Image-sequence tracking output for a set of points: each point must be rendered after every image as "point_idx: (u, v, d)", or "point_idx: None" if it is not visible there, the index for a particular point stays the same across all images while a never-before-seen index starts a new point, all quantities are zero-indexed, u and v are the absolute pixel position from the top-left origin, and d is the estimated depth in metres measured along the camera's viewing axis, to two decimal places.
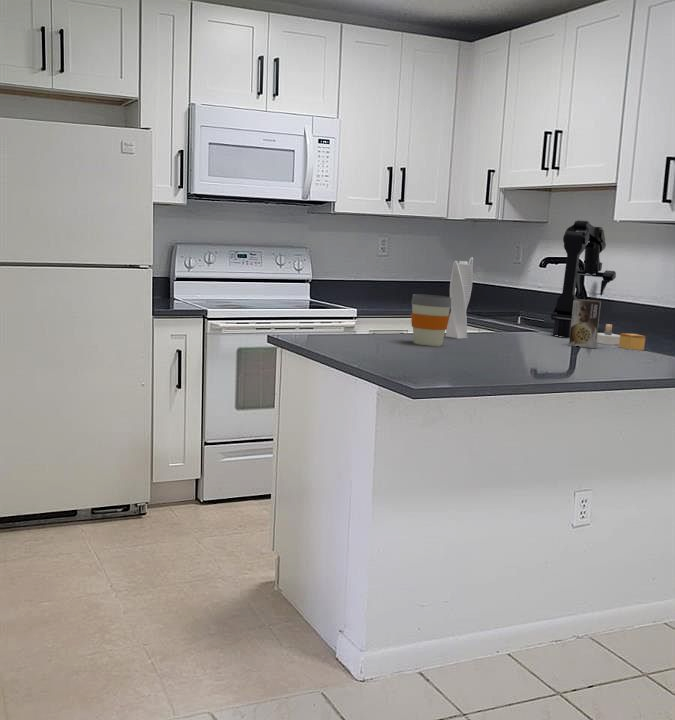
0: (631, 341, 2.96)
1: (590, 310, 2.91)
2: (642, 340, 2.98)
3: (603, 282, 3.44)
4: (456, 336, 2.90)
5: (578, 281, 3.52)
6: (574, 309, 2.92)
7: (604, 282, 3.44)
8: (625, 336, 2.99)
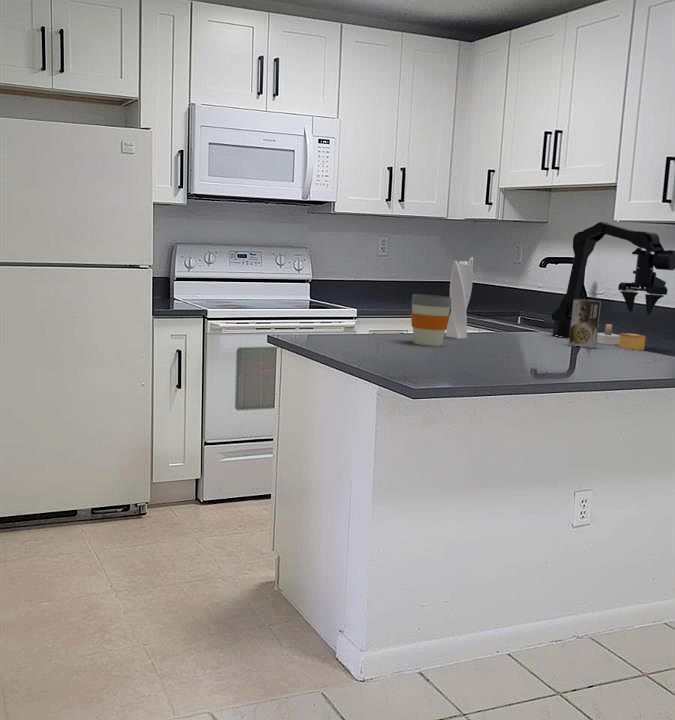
0: (631, 341, 2.96)
1: (590, 310, 2.91)
2: (642, 340, 2.98)
3: (646, 296, 2.92)
4: (456, 336, 2.90)
5: (631, 297, 3.04)
6: (574, 309, 2.92)
7: (647, 296, 2.92)
8: (625, 336, 2.99)
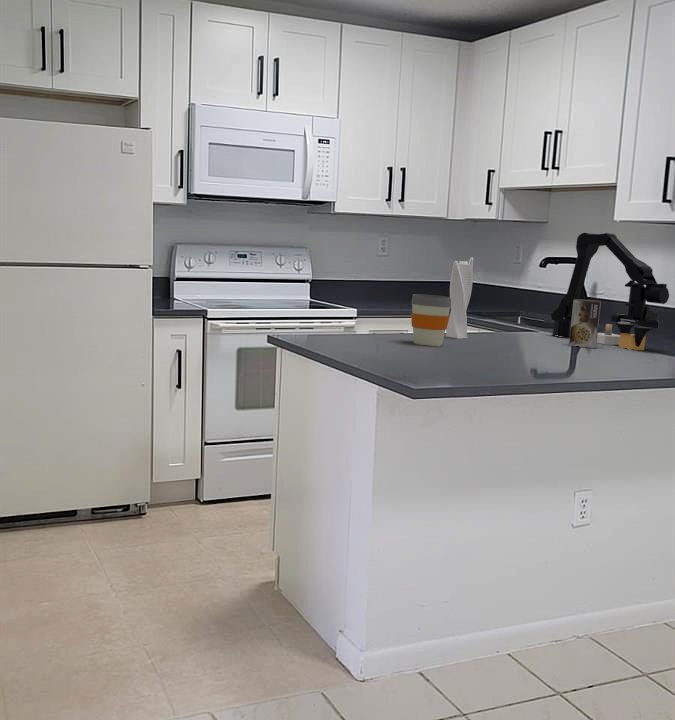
0: (631, 341, 2.96)
1: (590, 310, 2.91)
2: (642, 340, 2.98)
3: (635, 328, 2.94)
4: (456, 336, 2.90)
5: (626, 329, 3.03)
6: (574, 309, 2.92)
7: (636, 328, 2.94)
8: (625, 336, 2.99)
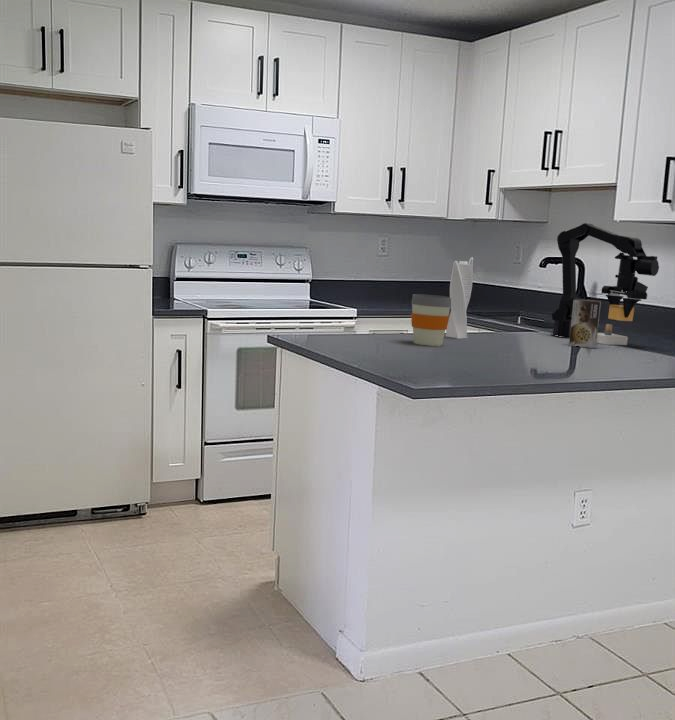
0: (620, 312, 3.03)
1: (590, 310, 2.91)
2: (631, 311, 3.04)
3: (624, 299, 3.01)
4: (456, 336, 2.90)
5: (616, 301, 3.09)
6: (574, 309, 2.92)
7: (625, 299, 3.00)
8: (614, 307, 3.05)
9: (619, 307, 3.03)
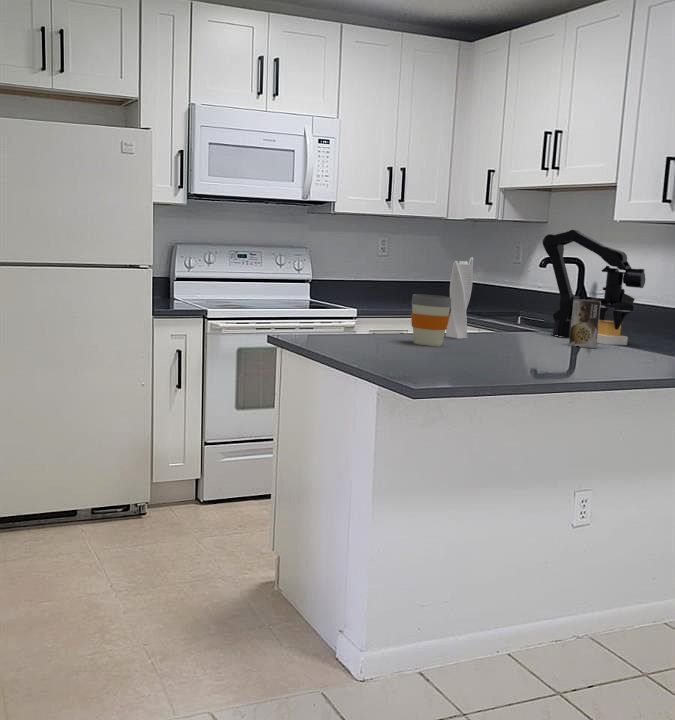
0: (607, 327, 3.10)
1: (590, 310, 2.91)
2: None
3: (614, 312, 3.07)
4: (456, 336, 2.90)
5: (601, 312, 3.18)
6: (574, 309, 2.92)
7: (615, 312, 3.06)
8: (602, 322, 3.13)
9: (607, 322, 3.10)
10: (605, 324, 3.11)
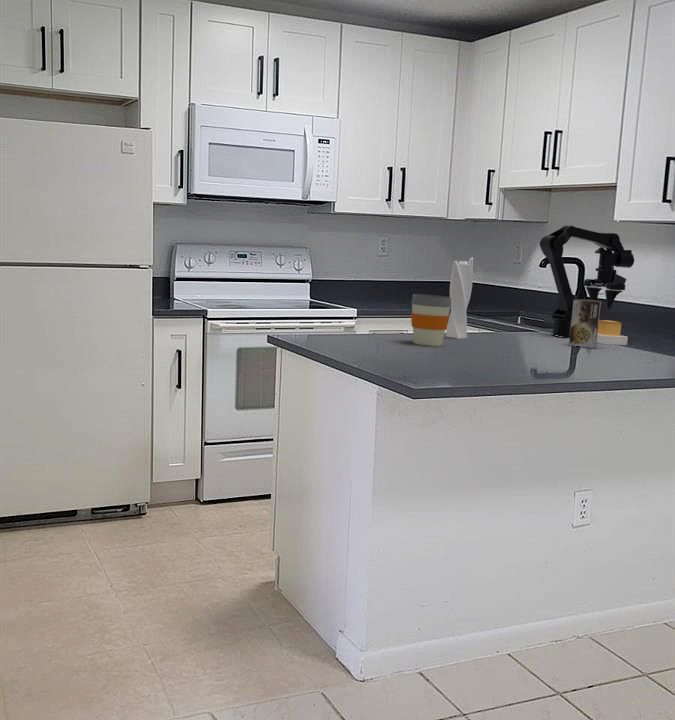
0: (607, 327, 3.10)
1: (590, 310, 2.91)
2: (618, 326, 3.12)
3: (606, 291, 3.20)
4: (456, 336, 2.90)
5: (594, 292, 3.31)
6: (574, 309, 2.92)
7: (607, 291, 3.20)
8: (602, 322, 3.13)
9: (607, 322, 3.10)
10: (605, 324, 3.11)
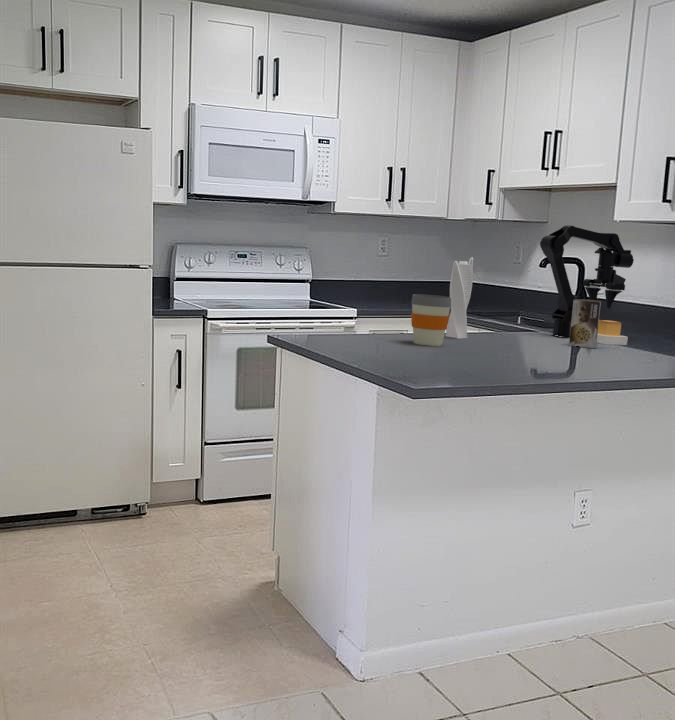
0: (607, 327, 3.10)
1: (590, 310, 2.91)
2: (618, 326, 3.12)
3: (606, 291, 3.21)
4: (456, 336, 2.90)
5: (594, 292, 3.32)
6: (574, 309, 2.92)
7: (607, 291, 3.20)
8: (602, 322, 3.13)
9: (607, 322, 3.10)
10: (605, 324, 3.11)
